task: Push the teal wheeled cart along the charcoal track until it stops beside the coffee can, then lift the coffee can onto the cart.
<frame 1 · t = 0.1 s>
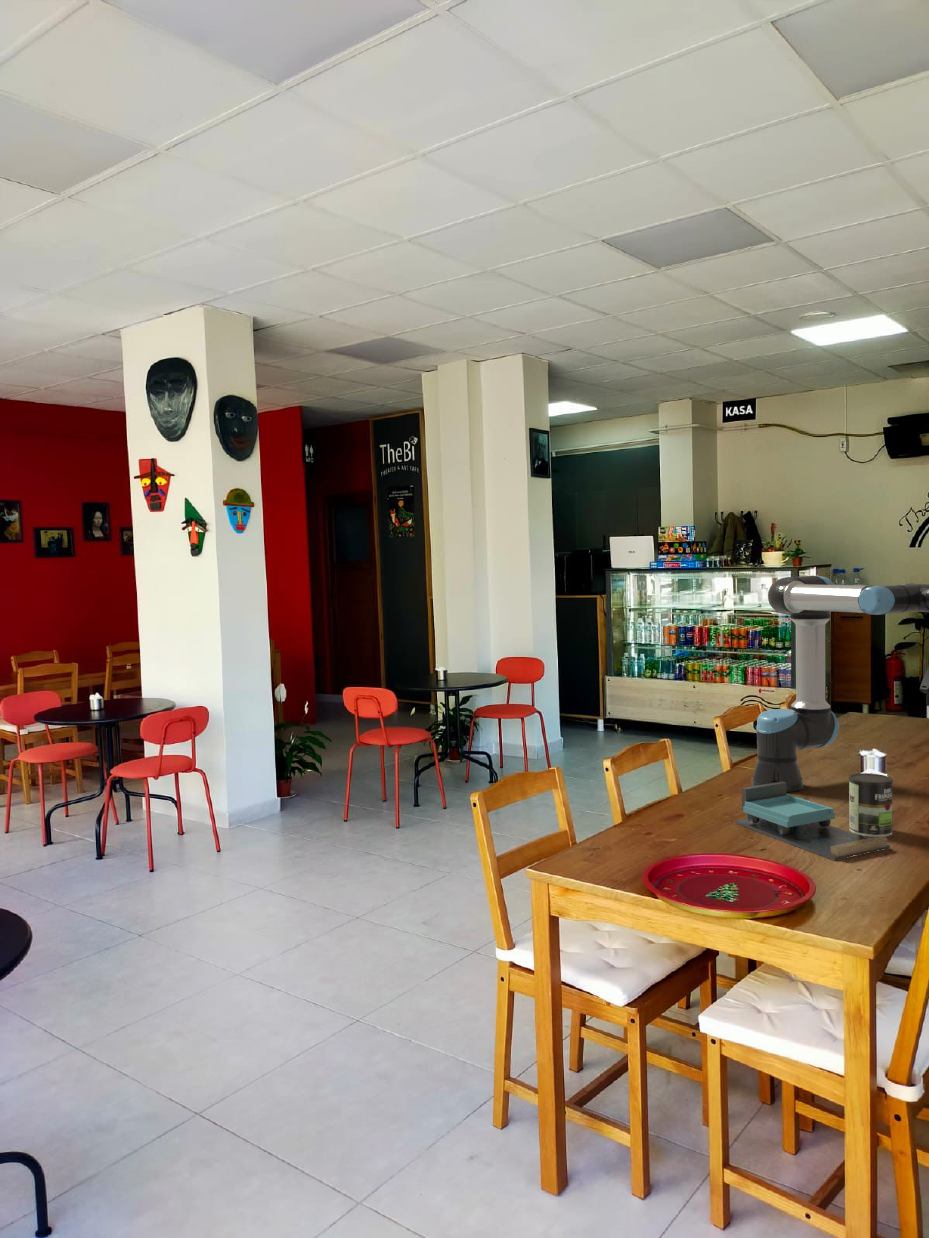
track: (808, 835, 227), on the table
cart: (786, 807, 233), point 5 cm above the table, slide at 0.0 cm
coffee can: (870, 832, 228), on the table
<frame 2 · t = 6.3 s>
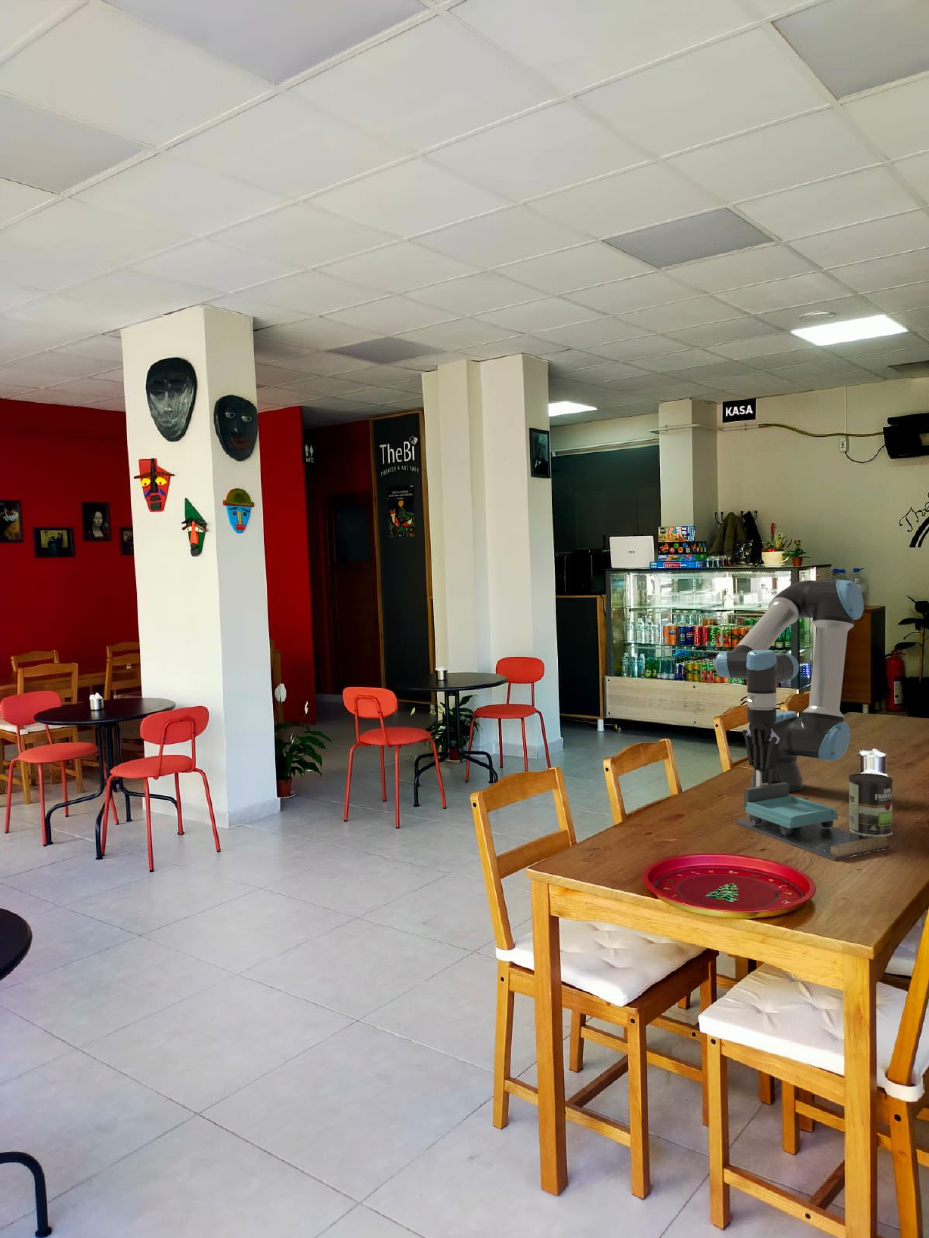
hand: (762, 793, 241), 7 cm above the table, tool pointing down, fingers closed
cart: (788, 808, 233), point 5 cm above the table, slide at 0.9 cm, touching gripper
everything else where it was.
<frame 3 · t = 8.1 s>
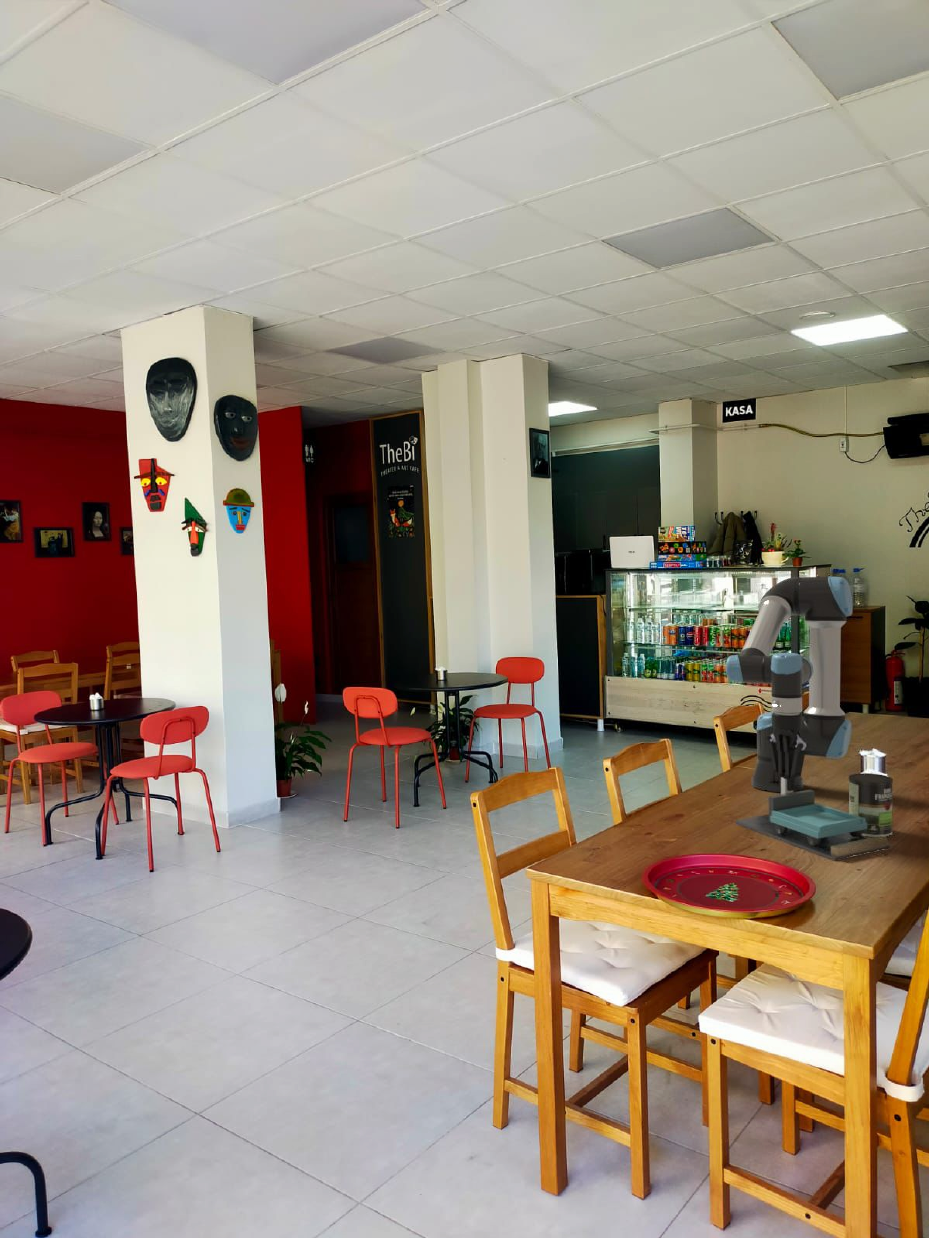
hand: (787, 801, 233), 7 cm above the table, tool pointing down, fingers closed
cart: (815, 817, 224), point 5 cm above the table, slide at 10.1 cm, touching gripper
everything else where it was.
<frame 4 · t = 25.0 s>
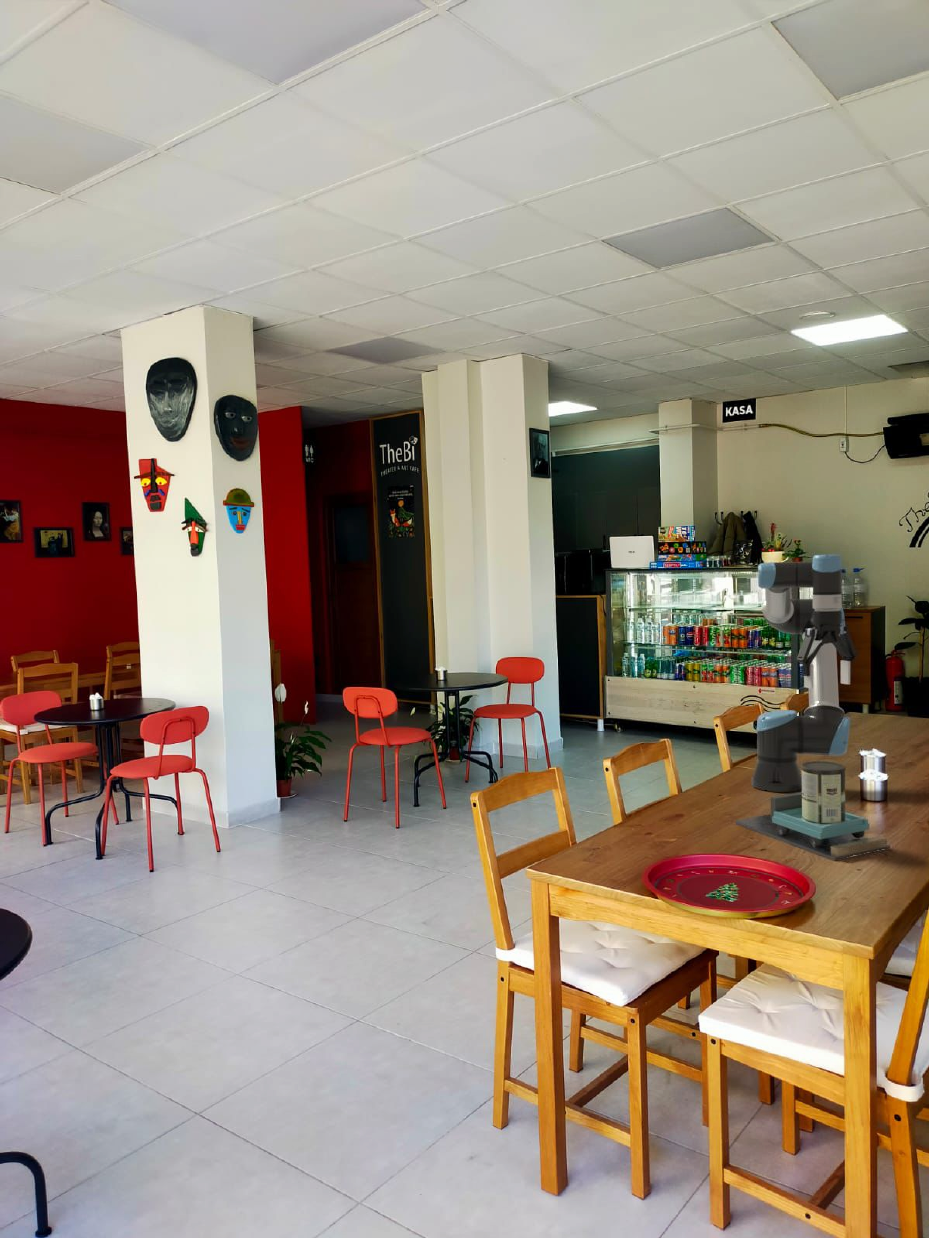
hand: (827, 685, 248), 35 cm above the table, tool pointing down, fingers open, 13 cm apart
cart: (817, 818, 224), point 5 cm above the table, slide at 10.8 cm, touching coffee can
coffee can: (823, 821, 222), point 5 cm above the table, touching cart
at the end: cart slide at 10.8 cm; coffee can inside the target area (0.1 cm from its centre), point 4.8 cm above the table; coffee can tilted 0° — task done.
